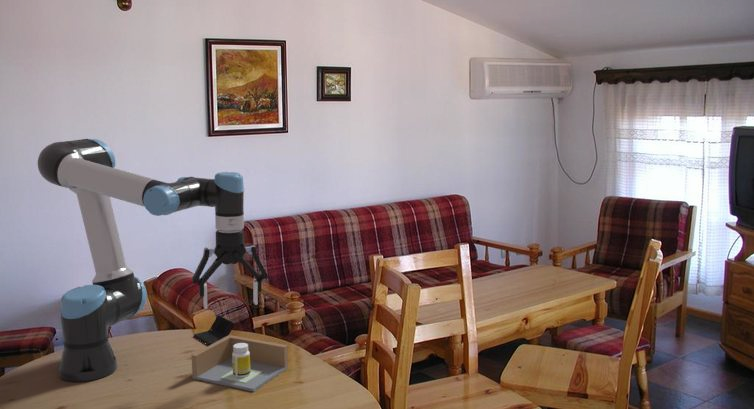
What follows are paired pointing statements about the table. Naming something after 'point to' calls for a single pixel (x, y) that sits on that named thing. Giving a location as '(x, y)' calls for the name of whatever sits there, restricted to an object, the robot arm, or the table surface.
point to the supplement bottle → (241, 360)
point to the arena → (219, 368)
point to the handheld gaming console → (216, 331)
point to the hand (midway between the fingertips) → (230, 305)
